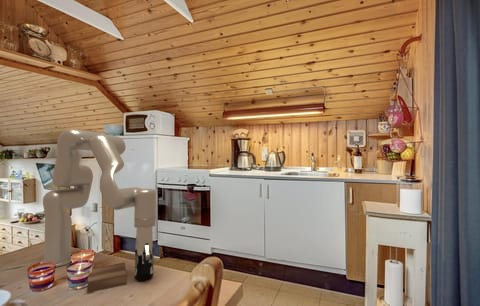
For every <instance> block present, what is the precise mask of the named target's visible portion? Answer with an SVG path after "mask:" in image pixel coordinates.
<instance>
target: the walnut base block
mask: <svg viewBox="0 0 480 306" xmlns="http://www.w3.org/2000/svg"><path fill="white" fill-rule="evenodd" d="M92 268H93V269H92V272H91V275H89V274H88V277H87V285H86V286H87V287H86V289H87V290H86V292H87V294H88V293H94V292H98V291H102V290H108V289H111V288H116V287H121V286H125V285H127V284H128V271H127V268H126V262H120V263H115V264H110V265H109V264H108V265H103V266H98V267H96V266H95V267H92Z"/></svg>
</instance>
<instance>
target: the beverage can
mask: <svg viewBox="0 0 480 306" xmlns="http://www.w3.org/2000/svg"><path fill="white" fill-rule="evenodd" d="M136 248H137V247H136V246H135V250H134V279H135V280H136V282H139V283H140V282H141V283H143V282H144V283H145V282H148V281H150V280H151V279H152V278H153V276H154V264H155V263H154V262H155V251H154V245H152V253H151V254H150V262H151V269H150V273H149V274H144V275H141V263H142V255H140V256H138V255H137V249H136ZM144 248H145V247H144ZM150 252H151V251H150ZM143 254H145V252H143ZM144 257H145V256H144Z"/></svg>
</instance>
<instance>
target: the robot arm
mask: <svg viewBox="0 0 480 306" xmlns="http://www.w3.org/2000/svg"><path fill="white" fill-rule="evenodd" d="M56 149H57V151H56V152H57V153H56V159H55V163H54V168H53V172H52V179H51V181H52V184H53V186H56V187H58V188H59V189H53V190H50V191H48V192H46V193H45V195H44V196H43V198H42V207H43V213H44V243H43V247H44V248H43V259H41V260H40V261H39V263H41V262H55V263H56V267H55V268H58V267H62V266H65V265H68V264H71V263H72V262H71V255H72V230H73V229H72V228H73V227H72V226H73V220H72V217H71V215H70V214H69V212H68V210H74V209H79V208H82V207H84V206H86V204H87V203H88V202H89V198H90V193H91V190H92V185H93V180H94V174H93V170H92V169H91V168H90V167H89V166H87V165H81V164H80V162H81V155H80V152H79V151H80V150H81V151H82V150H83V151H91V152H92V154H93V156H94V158H95V161H96V162H97V164H98V165H99V168H100V169H101V175H100V179H99V191H100V193H101V196H102V198H103V199H104V201H105V203H106V205H107V206H108V207H109V208H110V209H111V210H114V211H118V210H124V209H128V208H132V207H134V215H133V216H134V218H133V220H134V221H133V222H134V223H133V227H134V228H136V231H135V232H136V234H135V250H136V249H137V255H138V256H140V255H142V263H141V275H144V274H149V273H150V269H151V262H150V254H151V253H152V247H153V246H154V245H153V239H154V237H153V234H154V233H153V230H154V229H153V227H155V226H156V223H157V222H156V221H157V220H156V217H157V216H156V215H157V214H156V213H157V209H156V208H157V204H156V203H157V191H156V190H155V189H153V188H142V187H137V186H136V187H135V186H134V187H124V188H119V187H118V185H117V183H116V180H115V174H117V173H119V172H120V171H121V170H122V169H124V167H125V162H124V160H123V158H122V156H121V155H123V154H124V152H125V151H126V142H125V141H124V139H123V138H122V137H120V136H118V135H112V134H108V133H103V132H99V131H92V130H85V129H80V128H79V129H77V128H69V129H65V130H63V131H62V132H60V134H59V136H58V137H57V141H56ZM69 187H70V188H69ZM152 245H153V246H152ZM136 247H137V248H136ZM144 247H145V248H144ZM150 251H151V252H150ZM143 252H145V254H143ZM144 256H145V257H144ZM70 262H71V263H70ZM39 263H38V264H39Z"/></svg>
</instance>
